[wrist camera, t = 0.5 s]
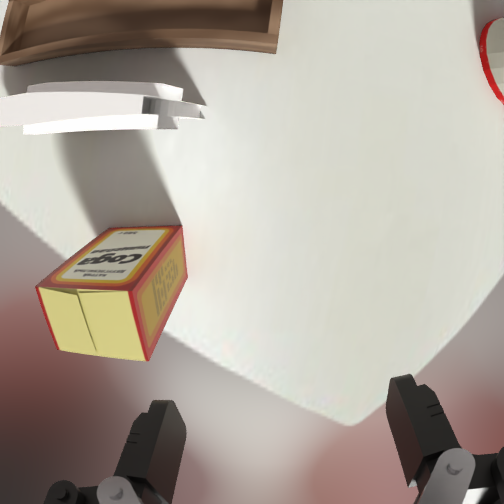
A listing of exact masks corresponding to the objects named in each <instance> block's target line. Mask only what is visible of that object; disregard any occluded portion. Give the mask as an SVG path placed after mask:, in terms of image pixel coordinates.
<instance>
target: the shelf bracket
mask: <svg viewBox="0 0 504 504" xmlns="http://www.w3.org/2000/svg"><path fill="white" fill-rule="evenodd" d="M182 95H183V88H179V87H175V86H171V85H167V84H163V83H148V82H127V81H68V82H48V83H41V84H35V85H29V86H28V87H27V93H23V94H17V95H12V96H6V97H1V98H0V127H4V126H20V125H24V130H23V134H49V133H61V132H75V131H93V130H122V129H178V125H179V118H186V119H200V118H199V116H200V108H201V105H198V104H194V103H189V102H183V101H182ZM202 106H203V105H202Z"/></svg>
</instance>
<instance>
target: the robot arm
mask: <svg viewBox="0 0 504 504" xmlns="http://www.w3.org/2000/svg"><path fill="white" fill-rule="evenodd" d="M386 414H387V419H388V422H389V425H390V429H391V432H392V435H393V438H394V441H395V444H396V448H397V451H398V455H399V458H400V461H401V465H402V468H403V471H404V475H405V478H406V482H407V486H408V488H409V487H413V486H416V485H417V487H418V491H419V494H418V495H417V497H416V499H415V502H414V503H413V504H504V447H503V448H502V449H501V450H500V451H499V453H494V454H484V455H474V454H471V453H470V452H469V451H467V450H465V449H462V448H461V446H460V445H459V443H458V441H457V439H456V437H455V434H454V432H453V430H452V428H451V425H450V423H449V421H448V419H447V417H446V415H445V414H444V411H443V408H442V406H441V405H440V402H439V400H438V398H437V396H436V394H435V392H434V391H432V390H431V389H430V388H429V387H428V386H427V385H425V384H423V385H420V386H417V385H416V382H415V380H414V378H413V376H412V375H411V374H407V375H402V376H398V377H394V378H391V379H390V383H389V389H388V395H387V401H386ZM185 441H186V426H185V423H184V421H183V419H182V417H181V415H180V413H179V411H178V409H177V407H176V405H175V403H174V401H172V400H153V401H152V403H151V405H150V408H149V411H148V413H141V414H140V415H139V417H138V418H137V419H136V420H135V421H134V422H133V425H132V427H131V430H130V435H128V438H127V443H125V446H124V449H123V452H122V454H121V457H120V460H119V462H118V465H117V468H116V471H115V473H114V475H113V477H109V478H107V479H105V480H103V481H102V482H101V483H100V485H99V486H93V487H82V488H77V487H76V486H75V485H74V484H73V483H72V482H70V481H66V480H62V481H58V482H56V483H54V484H53V485H52V486H51V487H50V489H49V491H48V493H47V496H46V499H45V501H44V504H172V499H173V494H174V490H175V485H176V480H177V476H178V472H179V467H180V463H181V458H182V454H183V450H184V445H185Z"/></svg>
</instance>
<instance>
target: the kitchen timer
mask: <svg viewBox="0 0 504 504" xmlns="http://www.w3.org/2000/svg"><path fill="white" fill-rule="evenodd" d="M479 45H480V58H481V62H482V67H483V71H484V73H485V76H486V78H487V80H488V83H489V85H490V87H491V88H492V90H493V92H494V93H495V95H496V97H497V98H498V99H499V100H500V101H501V102H502V103H503V105H504V17H503V18H499V19H495V20H493V21H491V22H489V23H487V24H486V26H485V27H484V29H483V30H482V33H481V37H480V42H479Z"/></svg>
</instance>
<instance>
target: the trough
mask: <svg viewBox="0 0 504 504" xmlns="http://www.w3.org/2000/svg"><path fill="white" fill-rule="evenodd" d="M282 6H283V0H9V3H8V6H7V10H6V14H5V18H4V22H3V26H2V31H1V35H0V65H7V66H19V65H23V64H28V63H32V62H37V61H42V60H47V59H52V58H58V57H64V56H70V55H77V54H84V53H92V52H101V51H111V50H123V49H139V48H215V49H231V50H244V51H254V52H263V53H272V54H276V50H277V43H278V36H279V28H280V21H281V13H282Z"/></svg>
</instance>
